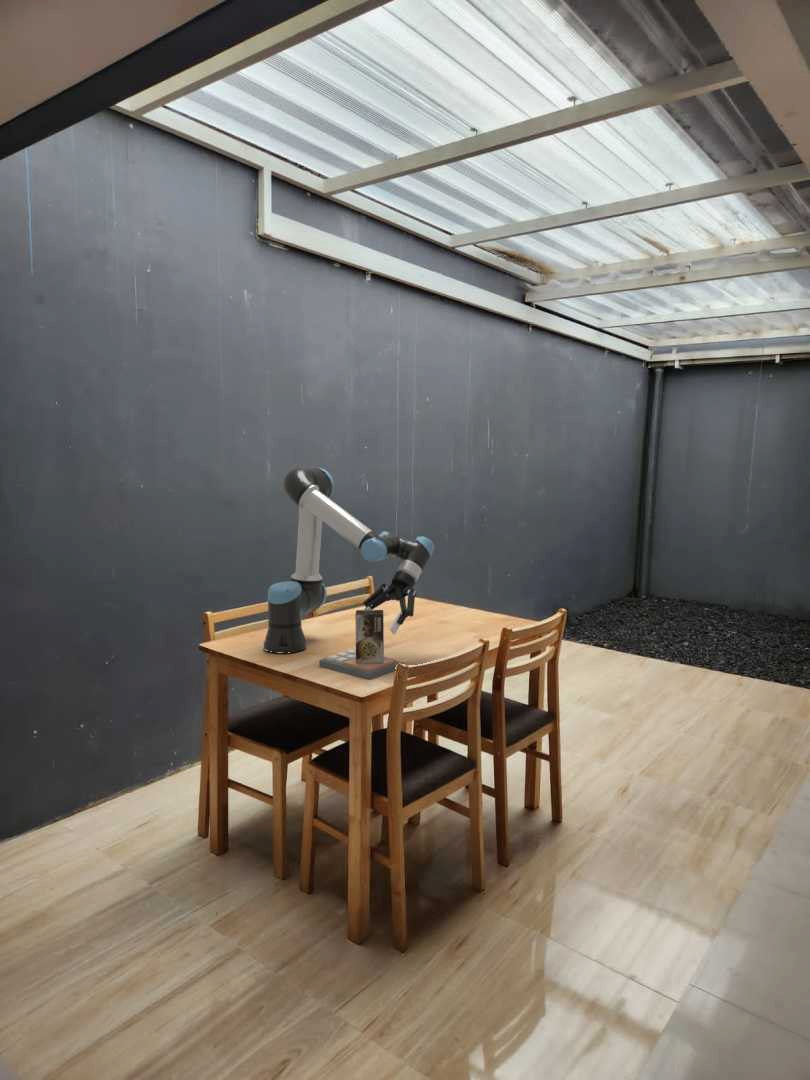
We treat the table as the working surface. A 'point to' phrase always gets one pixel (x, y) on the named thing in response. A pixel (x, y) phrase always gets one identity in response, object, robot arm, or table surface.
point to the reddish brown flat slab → (369, 664)
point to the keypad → (337, 664)
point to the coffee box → (369, 636)
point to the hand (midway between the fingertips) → (376, 628)
